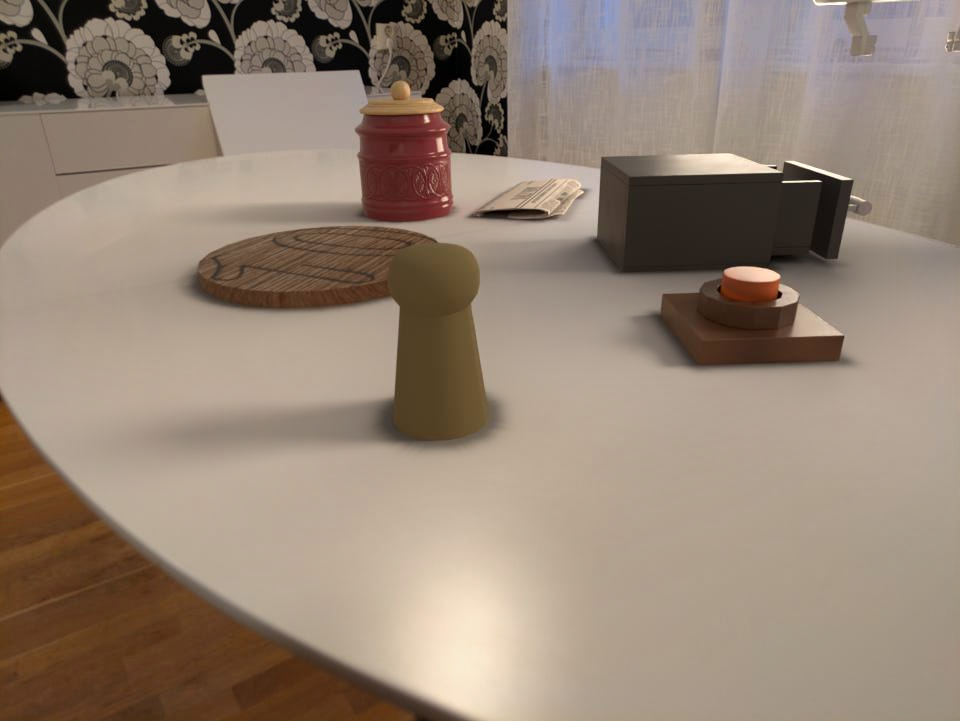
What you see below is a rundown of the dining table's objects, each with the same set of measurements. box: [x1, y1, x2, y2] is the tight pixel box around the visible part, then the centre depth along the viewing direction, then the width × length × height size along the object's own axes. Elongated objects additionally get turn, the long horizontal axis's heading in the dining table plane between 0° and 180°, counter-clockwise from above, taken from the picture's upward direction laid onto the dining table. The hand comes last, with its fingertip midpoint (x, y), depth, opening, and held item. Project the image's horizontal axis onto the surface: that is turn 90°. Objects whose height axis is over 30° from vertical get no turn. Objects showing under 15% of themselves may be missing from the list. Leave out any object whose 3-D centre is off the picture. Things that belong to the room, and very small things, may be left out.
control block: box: [659, 277, 845, 366], centre depth 51 cm, size 10×10×4 cm
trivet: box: [196, 225, 439, 309], centre depth 71 cm, size 25×25×2 cm
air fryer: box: [596, 152, 784, 274], centre depth 72 cm, size 15×14×10 cm
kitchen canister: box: [354, 80, 454, 223], centre depth 92 cm, size 13×13×18 cm
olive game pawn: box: [387, 242, 490, 442], centre depth 39 cm, size 6×6×11 cm
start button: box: [720, 266, 782, 302], centre depth 50 cm, size 4×4×2 cm
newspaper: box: [473, 178, 585, 220], centre depth 100 cm, size 23×12×2 cm, turn 161°
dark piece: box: [763, 160, 873, 260], centre depth 72 cm, size 18×13×8 cm
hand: (909, 53), depth 66 cm, fingers open, 8 cm apart
